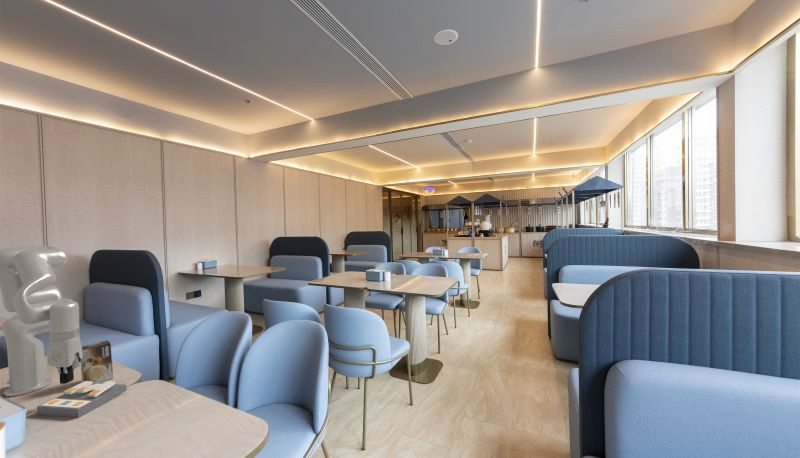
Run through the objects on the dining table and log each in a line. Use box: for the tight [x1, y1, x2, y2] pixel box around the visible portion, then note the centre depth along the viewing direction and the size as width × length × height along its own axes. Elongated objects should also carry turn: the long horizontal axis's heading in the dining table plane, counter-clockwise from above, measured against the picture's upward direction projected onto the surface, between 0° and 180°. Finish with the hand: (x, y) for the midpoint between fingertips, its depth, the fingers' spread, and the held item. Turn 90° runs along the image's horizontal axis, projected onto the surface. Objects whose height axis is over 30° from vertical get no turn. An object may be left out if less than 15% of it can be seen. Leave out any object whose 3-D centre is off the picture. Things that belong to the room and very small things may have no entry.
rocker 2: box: [76, 384, 102, 393], centre depth 116 cm, size 4×7×1 cm, turn 172°
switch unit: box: [36, 382, 128, 419], centre depth 113 cm, size 18×16×4 cm
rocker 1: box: [62, 381, 93, 394], centre depth 116 cm, size 4×7×1 cm, turn 172°
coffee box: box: [80, 340, 114, 383], centre depth 130 cm, size 9×6×16 cm
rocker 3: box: [87, 380, 116, 397], centre depth 114 cm, size 4×7×1 cm, turn 172°
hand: (66, 381), depth 114 cm, fingers closed
